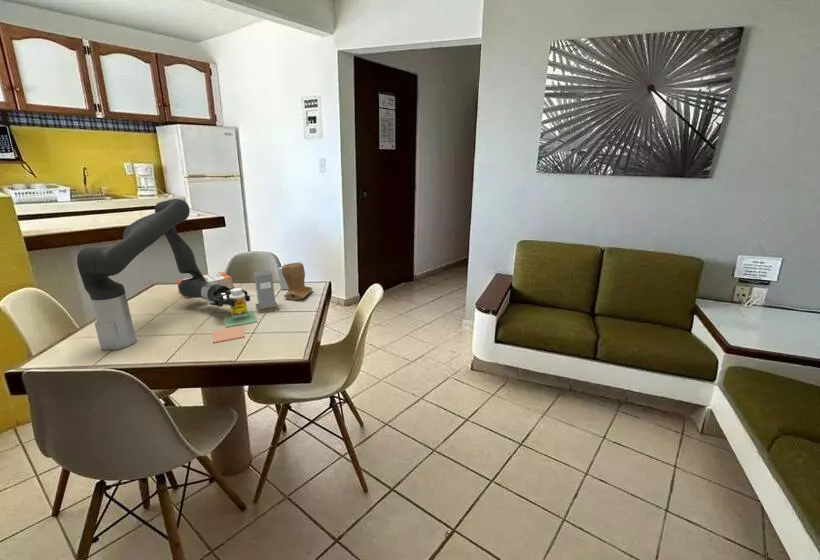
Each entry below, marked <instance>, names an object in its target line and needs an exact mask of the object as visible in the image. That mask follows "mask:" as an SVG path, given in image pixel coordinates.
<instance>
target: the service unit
mask: <svg viewBox="0 0 820 560" xmlns="http://www.w3.org/2000/svg"><path fill="white" fill-rule="evenodd" d="M253 277H254V284H255V290H256V296H257V303H255V308H256V310H257V311H256V312H257V313H258V314H259V313H260V314H265V313H271V312H276V311H275V310H277V311H280V307H279V305H278V303H277V301H276V296H275V288H274V281H273V273H272V272H271V270H270V269H267V270H260V271H259V270H258V271H253ZM270 311H271V312H270ZM264 312H265V313H264Z"/></svg>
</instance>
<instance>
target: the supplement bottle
mask: <svg viewBox="0 0 820 560" xmlns="http://www.w3.org/2000/svg"><path fill="white" fill-rule="evenodd" d="M242 289H243V288H241V287H234V288H231V289H230V290H231V294H230V295H229V299H231V300H234V301H235V306H234V307H233V306H230V311H231V315H232V316H234V317H241V316H244V315H246V314H247V313H248V306H247V301H246V299H245V294H244V293H242Z"/></svg>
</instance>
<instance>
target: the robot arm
mask: <svg viewBox="0 0 820 560" xmlns="http://www.w3.org/2000/svg"><path fill="white" fill-rule="evenodd" d="M190 210H191V209H190V206H189V204H188V203H187V202H186V201H185V200H183V199H181V198H172V199H167V200H163V201H159V202H157V203H156V204H155V206H154V213H151V214H148V215H146V216H143V217H141V218H139V219H137V220H135V221H133V222H132V223H130V224H129V225H127V226H126V227H125V228H124V230H123V234H122V240H121V241H119V242H117V243H115V244H114V245H110V246H90V247H84V248H82V249H80V250H79V252H78V254H77V258H76V265H77V270H78V273H79V275H80V278H81V281H82V284H83V288H84V290H85V291H86V292H87V294H88V295H89V298H90V300H91V305H92V308H93V313H94V317H95V320H96V321H95V322H94V328H95V331H96V334H97V339H98V342H99V346H100V350H101V351H102V350H105V351H107V350H111V351H114V350H117V351H119V350H121V349H123V348H127V347H129V346H132V345H134V344H135V343H136V342H137V336H136V332H135V328H134V323H133V319H132V314H131V310H130V306H129V302H128V299H127V294H126V289H125V287H124V285H123V284H122V283H119V282H118V281H114V280H113V279H112V278H110V277H111V276H112V277H113V276H116V275H118V274H121V272H122V271H124V270H125V269H126V268H127V266H128V265H129V264H131V262H133V260H135V258H136V257H137V256H139V255H140V254H141V253H143V251H145V250H146V249H147V248H149V247H150V246H152V245H153V244H154V243H155V242H157V241H158V240H160V238H161V237H162V236H165V237H166V240H167V241H168V242H167V243H168V244H169V245H170V249H171V251H172V253H173V256H174V259H175V263H176V266H177V269H178V273H180V274H189V275H191V277H188V278H189V279H187V278H184V279H185V280H183V281H181V282H180V283H179V286H178V285H177V288H178V292H179V291H180V292H179V294H181V295H182V296H184V297H185V296H186V297H189V298H200V299H203V300H206V301H208V302H209V305H210V306H211V305H212V306H216V307H221V308H222V307H224V306H230V307H231V306H233V307H234V306H235V301H234V300H231V299H229V295H230V294H231V289H229V288H228V287H226V286H223V285H220V284H216V283H211V282H207V281H206V280H205V278H204V277H203V273H202V272H201V270H200V268H199V267H198V265H197V260H196V258H195V254H194V252H193V250H192V248H191V247H190V246H189V244H188V243H187V242H186V241H185V240H184V239H183V238H182V236H180V235H179V233H178V231H177V229H176V226H177V225H178V224H181V223H183V222H184V221H186V220H187V219H188V218H189V216H190V214H191V213H190ZM192 277H193V278H192ZM241 289H242V293H244V294H245V299H246V302H250V301H251V298H250V297H251V296H250V295H249V294H248V291H247V290H245V289H243V288H241ZM186 297H185V298H186Z"/></svg>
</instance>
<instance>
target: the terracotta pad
mask: <svg viewBox="0 0 820 560" xmlns="http://www.w3.org/2000/svg"><path fill="white" fill-rule="evenodd" d="M211 335H212V344H217V343H222V342H223V343H224V342H228V341H234V340H239V339H244V338H245V337H246V336H245V332H244V328H243V325H239V326H234V327H228V328H224V329H223V328H222V329H218V330H212V331H211Z"/></svg>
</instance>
